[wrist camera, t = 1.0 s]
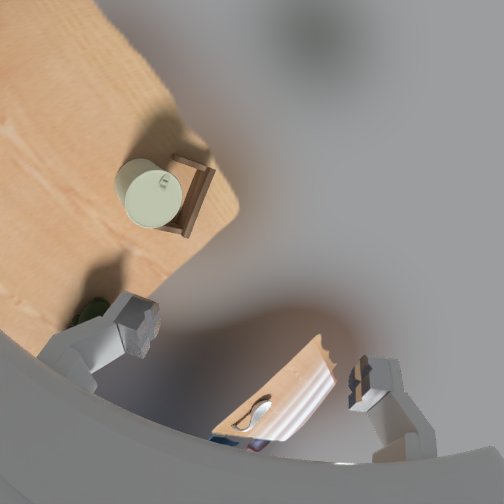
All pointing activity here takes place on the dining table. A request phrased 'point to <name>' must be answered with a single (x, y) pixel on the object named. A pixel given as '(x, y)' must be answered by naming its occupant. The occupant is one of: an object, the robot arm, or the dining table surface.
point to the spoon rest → (256, 414)
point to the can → (148, 193)
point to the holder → (191, 198)
